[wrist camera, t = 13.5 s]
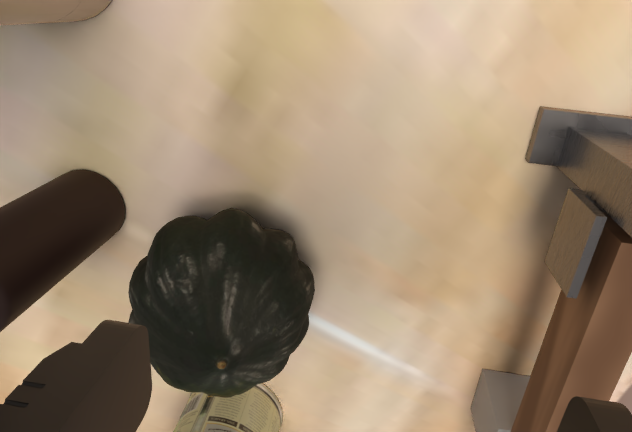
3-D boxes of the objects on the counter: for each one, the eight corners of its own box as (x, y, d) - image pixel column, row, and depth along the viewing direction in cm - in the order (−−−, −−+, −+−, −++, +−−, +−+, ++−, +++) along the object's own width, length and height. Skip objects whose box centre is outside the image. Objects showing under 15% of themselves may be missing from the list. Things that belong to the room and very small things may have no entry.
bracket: (506, 223, 39) (566, 329, 26) (540, 106, 35) (628, 165, 22) (608, 236, 38) (719, 352, 26) (654, 119, 34) (811, 187, 22)
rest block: (470, 408, 47) (484, 471, 41) (482, 368, 45) (498, 428, 39) (522, 416, 47) (544, 481, 40) (537, 377, 45) (562, 439, 38)
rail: (491, 484, 41) (503, 537, 37) (589, 210, 31) (621, 242, 27) (527, 491, 41) (542, 544, 37) (638, 216, 30) (678, 250, 26)
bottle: (60, 156, 42) (-187, 272, 24) (134, 185, 42) (-56, 323, 24) (51, 220, 45) (-177, 368, 27) (119, 248, 45) (-60, 413, 27)
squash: (97, 327, 42) (149, 474, 32) (123, 172, 36) (197, 291, 26) (240, 307, 51) (317, 418, 41) (279, 181, 45) (380, 272, 35)
